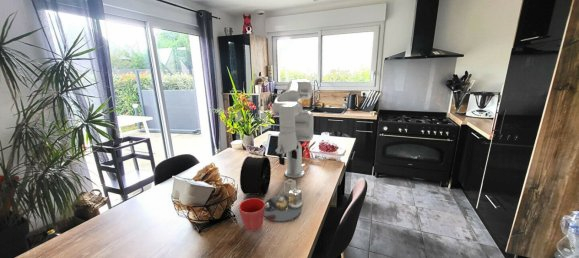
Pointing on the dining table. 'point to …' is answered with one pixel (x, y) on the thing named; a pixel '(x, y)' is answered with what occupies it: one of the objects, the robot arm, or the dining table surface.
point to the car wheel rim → (255, 175)
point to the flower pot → (252, 213)
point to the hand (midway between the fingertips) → (288, 161)
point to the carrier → (284, 207)
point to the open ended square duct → (289, 186)
